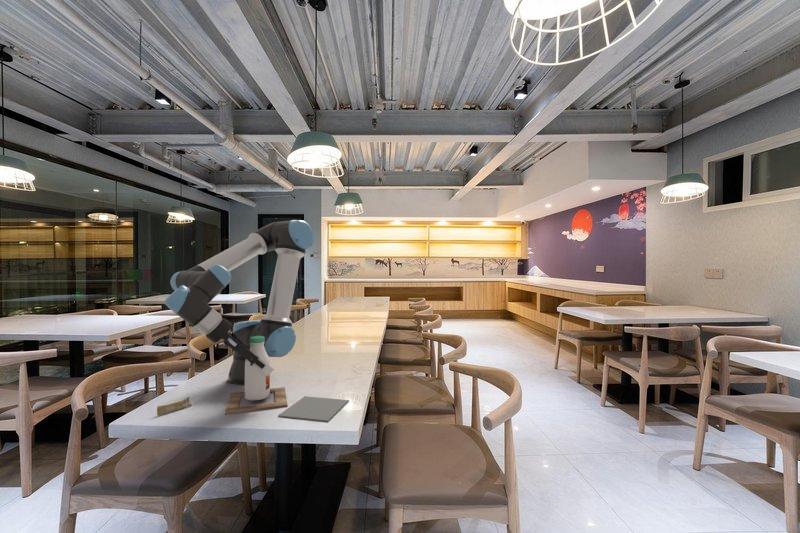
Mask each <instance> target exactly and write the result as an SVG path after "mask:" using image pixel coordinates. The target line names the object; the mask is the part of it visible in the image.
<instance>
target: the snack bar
mask: <svg viewBox="0 0 800 533" xmlns="http://www.w3.org/2000/svg"><path fill="white" fill-rule="evenodd" d="M190 398H191V397H190V396H188V397H186V398H183V399H179V400H176V401H173V402H169V403H165V404H162V405H161V404H160V405H157V407H156V414H157V417H160V416H162V415H166V414H169V413H172V412H176V411H179V410H182V409H183V410H184V409H186V408H189V407H192V404H191V399H190Z"/></svg>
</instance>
